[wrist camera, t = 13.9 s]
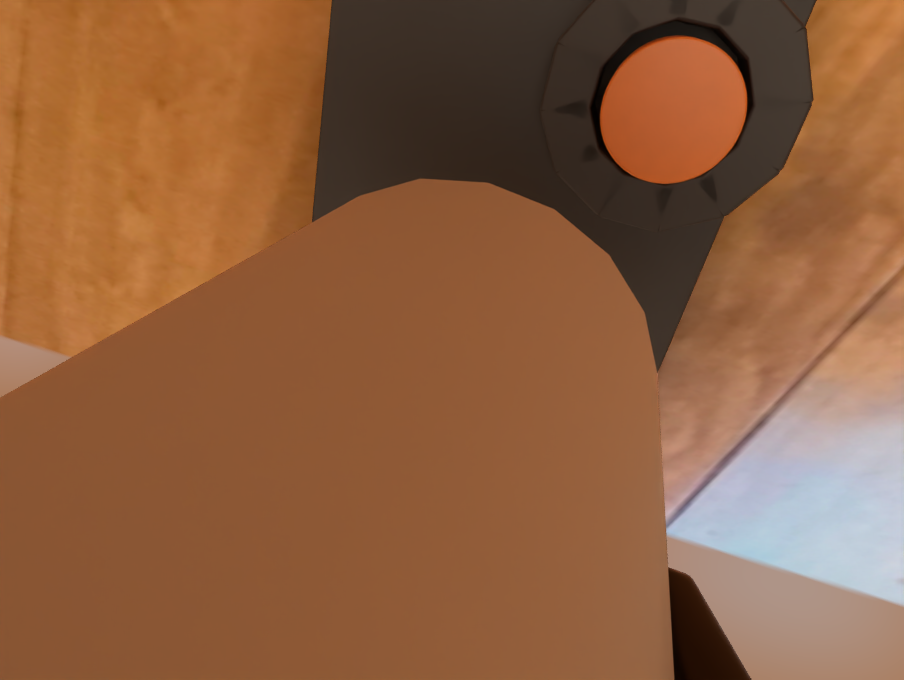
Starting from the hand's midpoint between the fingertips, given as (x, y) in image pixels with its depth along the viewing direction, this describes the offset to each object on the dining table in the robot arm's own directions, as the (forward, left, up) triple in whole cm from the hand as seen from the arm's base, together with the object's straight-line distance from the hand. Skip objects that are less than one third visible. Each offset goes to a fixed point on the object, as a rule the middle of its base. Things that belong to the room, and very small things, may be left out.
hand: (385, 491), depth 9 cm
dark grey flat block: (+1, +1, -13) cm, 13 cm away
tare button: (+5, -3, -10) cm, 12 cm away
